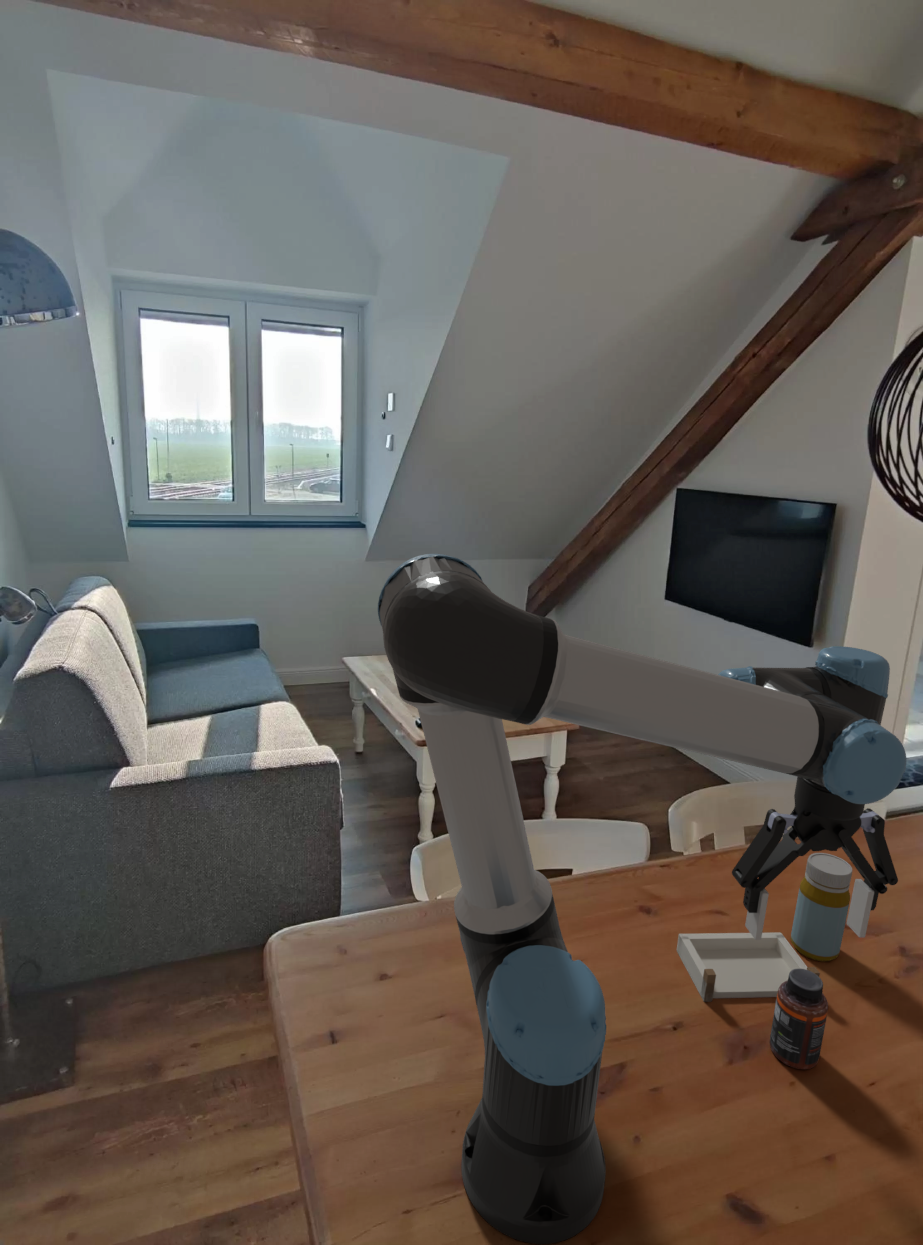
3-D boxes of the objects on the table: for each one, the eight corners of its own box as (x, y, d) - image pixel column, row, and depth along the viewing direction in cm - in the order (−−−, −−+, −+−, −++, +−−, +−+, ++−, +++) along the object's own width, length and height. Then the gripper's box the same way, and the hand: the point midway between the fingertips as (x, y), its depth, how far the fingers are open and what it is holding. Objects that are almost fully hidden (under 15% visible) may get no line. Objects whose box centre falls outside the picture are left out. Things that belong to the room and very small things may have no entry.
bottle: (780, 939, 117) (794, 855, 114) (812, 930, 120) (827, 848, 117) (815, 968, 111) (832, 880, 108) (848, 957, 114) (866, 871, 110)
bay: (814, 999, 105) (819, 973, 104) (703, 1001, 103) (707, 975, 102) (778, 949, 115) (782, 924, 114) (676, 950, 114) (679, 925, 113)
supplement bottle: (821, 1048, 96) (836, 975, 94) (814, 1080, 91) (830, 1003, 89) (772, 1028, 99) (785, 956, 97) (764, 1057, 94) (777, 982, 92)
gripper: (909, 763, 92) (878, 911, 97) (718, 763, 90) (697, 914, 95) (953, 791, 85) (917, 949, 90) (747, 791, 82) (722, 954, 88)
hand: (804, 931), depth 93 cm, fingers open, 13 cm apart
